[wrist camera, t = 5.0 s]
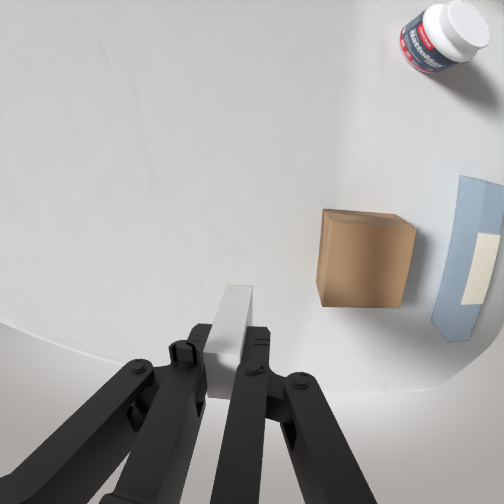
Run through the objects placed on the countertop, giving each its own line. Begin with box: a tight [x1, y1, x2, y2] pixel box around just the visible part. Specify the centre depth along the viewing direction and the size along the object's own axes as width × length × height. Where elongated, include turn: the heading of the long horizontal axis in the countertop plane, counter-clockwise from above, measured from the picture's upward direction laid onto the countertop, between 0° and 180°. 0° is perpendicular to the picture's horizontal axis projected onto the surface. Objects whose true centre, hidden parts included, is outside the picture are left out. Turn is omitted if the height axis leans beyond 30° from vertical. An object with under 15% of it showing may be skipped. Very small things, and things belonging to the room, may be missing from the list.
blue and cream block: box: [431, 175, 504, 343], centre depth 24 cm, size 3×16×5 cm, turn 0°
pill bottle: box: [398, 0, 490, 73], centre depth 16 cm, size 5×5×9 cm
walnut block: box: [316, 209, 417, 308], centre depth 25 cm, size 7×7×5 cm
